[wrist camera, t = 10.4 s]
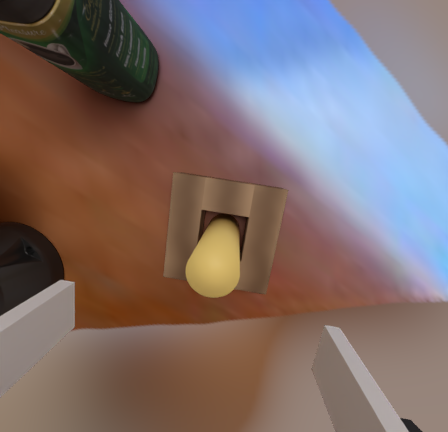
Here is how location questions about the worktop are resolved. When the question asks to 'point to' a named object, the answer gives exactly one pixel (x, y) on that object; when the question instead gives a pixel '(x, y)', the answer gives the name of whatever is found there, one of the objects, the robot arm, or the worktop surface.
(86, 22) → the coffee jar
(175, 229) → the socket block
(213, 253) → the peg
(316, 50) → the worktop surface
